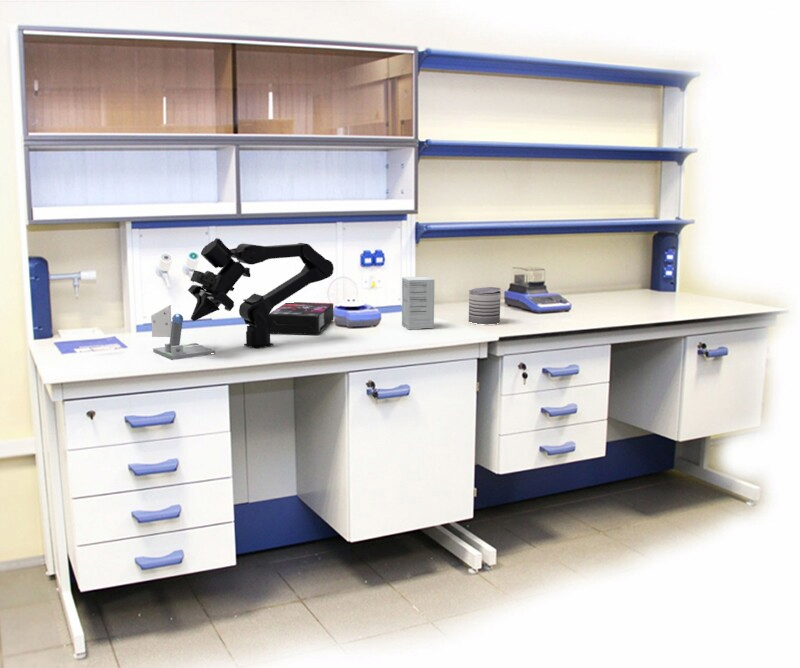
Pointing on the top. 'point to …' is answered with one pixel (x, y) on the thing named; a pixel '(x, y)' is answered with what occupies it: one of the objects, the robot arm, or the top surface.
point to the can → (484, 305)
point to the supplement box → (417, 302)
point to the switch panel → (183, 351)
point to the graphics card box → (301, 318)
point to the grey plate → (162, 323)
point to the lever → (176, 330)
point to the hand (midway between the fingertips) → (192, 319)
